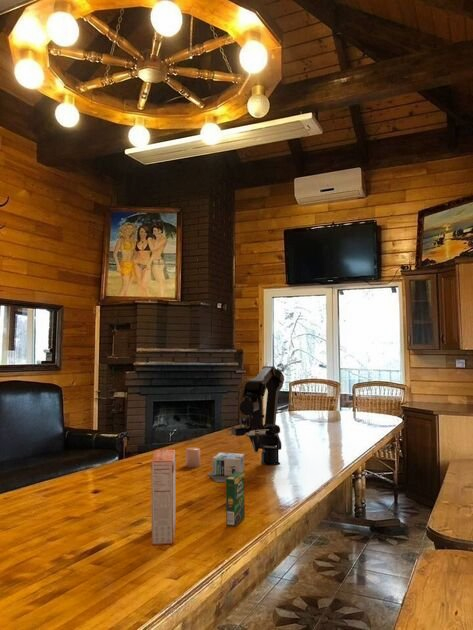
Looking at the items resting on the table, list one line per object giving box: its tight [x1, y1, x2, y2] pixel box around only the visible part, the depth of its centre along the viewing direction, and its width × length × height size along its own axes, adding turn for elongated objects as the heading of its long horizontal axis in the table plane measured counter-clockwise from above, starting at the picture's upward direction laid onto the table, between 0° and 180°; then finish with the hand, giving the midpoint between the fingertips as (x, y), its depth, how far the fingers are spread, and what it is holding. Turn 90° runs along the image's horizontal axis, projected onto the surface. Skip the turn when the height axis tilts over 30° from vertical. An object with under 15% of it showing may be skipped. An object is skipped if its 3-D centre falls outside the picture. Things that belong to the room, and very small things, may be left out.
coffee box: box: [225, 471, 246, 528], centre depth 138 cm, size 8×3×13 cm, turn 159°
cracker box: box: [150, 449, 177, 546], centre depth 130 cm, size 14×6×21 cm, turn 5°
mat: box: [206, 472, 246, 484], centre depth 186 cm, size 11×13×1 cm
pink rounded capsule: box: [185, 447, 201, 469], centre depth 205 cm, size 6×6×7 cm
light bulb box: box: [211, 452, 246, 476], centre depth 192 cm, size 11×7×11 cm
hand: (256, 452), depth 192 cm, fingers closed
